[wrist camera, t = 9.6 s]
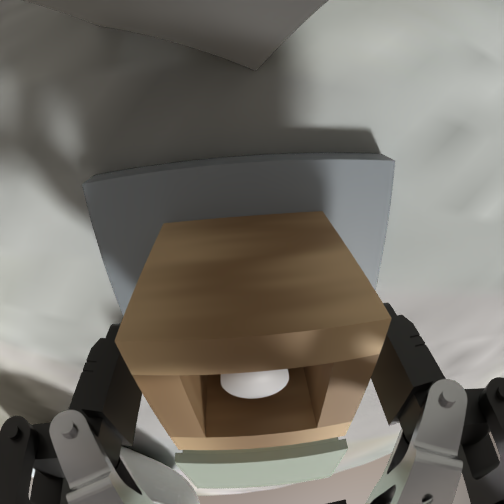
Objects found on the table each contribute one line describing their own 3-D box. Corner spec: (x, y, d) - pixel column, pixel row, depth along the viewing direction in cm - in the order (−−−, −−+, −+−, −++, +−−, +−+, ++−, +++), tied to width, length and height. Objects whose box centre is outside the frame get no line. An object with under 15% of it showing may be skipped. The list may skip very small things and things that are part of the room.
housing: (328, 377, 16) (348, 448, 12) (317, 420, 19) (330, 477, 15) (181, 389, 16) (174, 462, 12) (199, 429, 19) (197, 488, 14)
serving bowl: (14, 420, 23) (0, 461, 18) (85, 391, 19) (64, 466, 13) (131, 483, 33) (127, 519, 27) (239, 470, 28) (242, 520, 22)
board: (381, 153, 11) (480, 211, 6) (335, 401, 20) (353, 471, 15) (94, 175, 11) (5, 247, 6) (178, 414, 20) (173, 486, 14)
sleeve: (322, 211, 11) (391, 318, 6) (313, 326, 14) (345, 435, 9) (163, 223, 11) (114, 340, 6) (189, 336, 14) (178, 449, 9)
